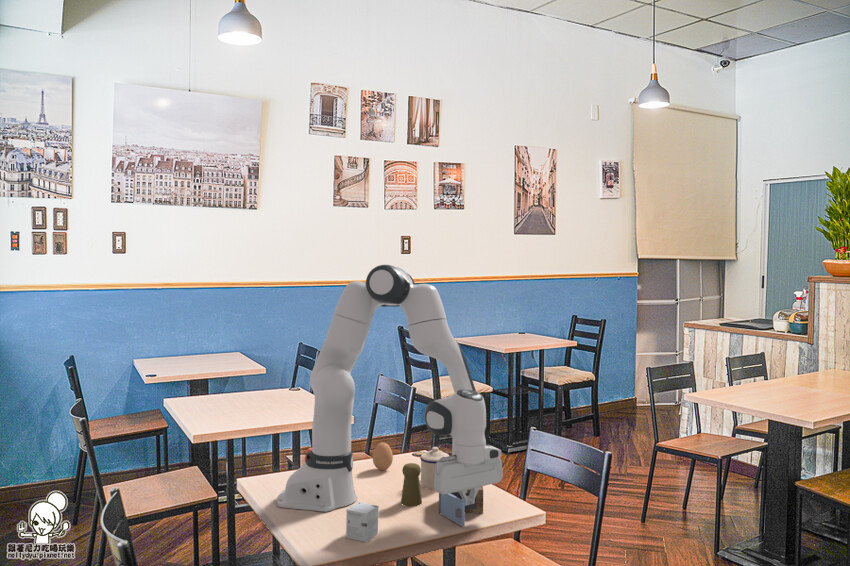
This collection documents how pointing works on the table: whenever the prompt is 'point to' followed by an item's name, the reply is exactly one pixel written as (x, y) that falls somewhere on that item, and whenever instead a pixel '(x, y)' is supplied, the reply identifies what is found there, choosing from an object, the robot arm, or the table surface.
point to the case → (478, 504)
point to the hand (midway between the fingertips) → (468, 504)
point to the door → (452, 508)
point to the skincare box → (362, 521)
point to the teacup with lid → (430, 466)
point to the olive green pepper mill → (411, 485)
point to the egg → (382, 456)
